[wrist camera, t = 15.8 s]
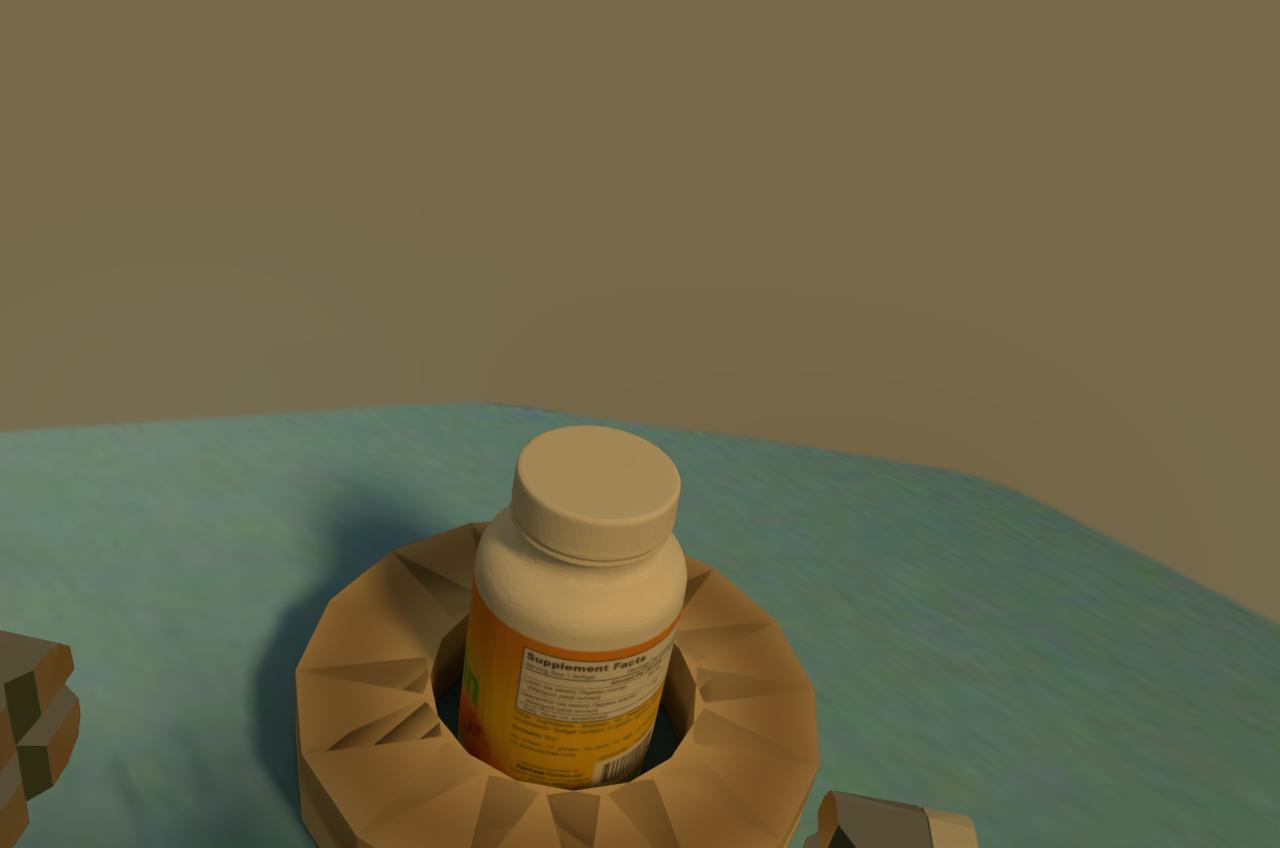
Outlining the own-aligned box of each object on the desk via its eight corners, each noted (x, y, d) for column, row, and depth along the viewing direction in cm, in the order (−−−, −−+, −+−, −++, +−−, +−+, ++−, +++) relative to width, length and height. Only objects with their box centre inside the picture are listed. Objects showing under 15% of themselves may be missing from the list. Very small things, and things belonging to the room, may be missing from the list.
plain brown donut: (210, 920, 26) (205, 853, 24) (382, 545, 37) (384, 486, 36) (805, 1026, 26) (832, 965, 24) (788, 620, 38) (806, 563, 36)
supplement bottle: (468, 666, 34) (498, 395, 28) (644, 686, 34) (704, 423, 29) (441, 815, 29) (471, 524, 24) (645, 836, 29) (716, 555, 24)
